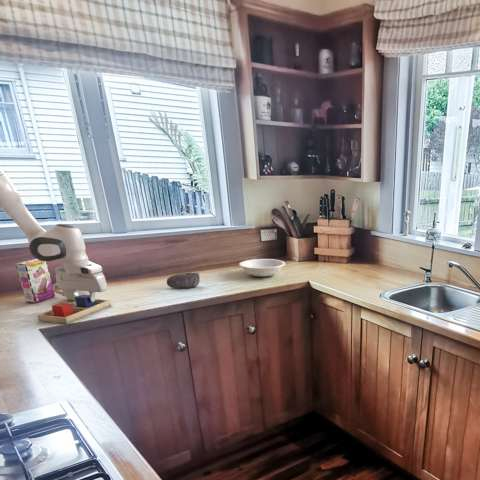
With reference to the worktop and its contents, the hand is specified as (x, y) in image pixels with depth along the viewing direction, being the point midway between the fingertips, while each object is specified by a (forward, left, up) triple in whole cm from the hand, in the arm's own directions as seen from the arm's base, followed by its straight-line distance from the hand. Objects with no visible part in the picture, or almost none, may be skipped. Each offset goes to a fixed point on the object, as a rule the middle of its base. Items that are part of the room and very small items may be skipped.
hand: (85, 300), depth 189 cm
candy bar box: (-28, +7, -4) cm, 29 cm away
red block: (0, -12, -2) cm, 12 cm away
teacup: (-15, +11, -4) cm, 19 cm away
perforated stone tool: (+19, +41, -4) cm, 45 cm away
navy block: (0, -1, -2) cm, 2 cm away
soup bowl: (+45, +75, -4) cm, 87 cm away
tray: (0, -6, -3) cm, 7 cm away
